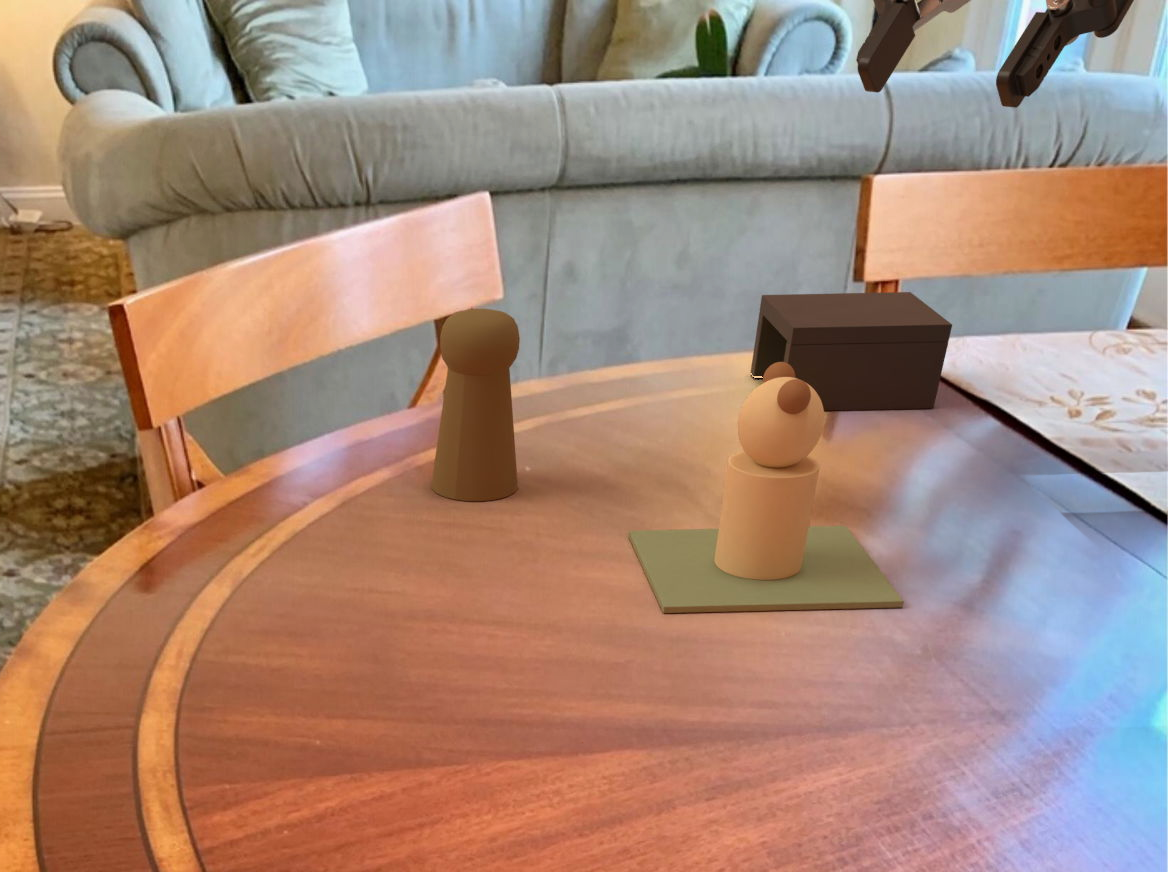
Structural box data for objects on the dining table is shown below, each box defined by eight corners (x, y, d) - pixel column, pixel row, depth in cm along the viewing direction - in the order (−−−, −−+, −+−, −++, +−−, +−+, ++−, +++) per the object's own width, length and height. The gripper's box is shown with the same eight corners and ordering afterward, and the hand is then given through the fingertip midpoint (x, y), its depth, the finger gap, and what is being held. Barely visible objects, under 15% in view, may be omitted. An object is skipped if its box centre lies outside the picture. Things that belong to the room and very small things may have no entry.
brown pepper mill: (473, 465, 105) (479, 295, 98) (536, 486, 102) (547, 311, 94) (412, 485, 102) (414, 312, 95) (475, 507, 98) (481, 329, 91)
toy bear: (789, 546, 92) (822, 357, 84) (811, 579, 88) (848, 383, 81) (706, 548, 92) (732, 359, 84) (724, 581, 88) (753, 385, 80)
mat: (844, 531, 94) (846, 525, 94) (902, 607, 85) (904, 600, 85) (628, 536, 94) (628, 530, 94) (663, 613, 85) (663, 606, 85)
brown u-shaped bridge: (894, 371, 121) (910, 291, 118) (933, 408, 114) (952, 324, 110) (749, 374, 121) (761, 294, 117) (779, 412, 114) (793, 327, 110)
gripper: (974, -258, 78) (802, 23, 80) (1241, -274, 69) (1041, 41, 71) (1004, -132, 84) (843, 127, 86) (1253, -133, 75) (1069, 155, 77)
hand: (933, 88), depth 79 cm, fingers open, 8 cm apart
